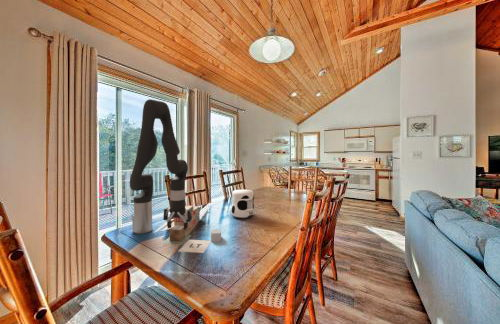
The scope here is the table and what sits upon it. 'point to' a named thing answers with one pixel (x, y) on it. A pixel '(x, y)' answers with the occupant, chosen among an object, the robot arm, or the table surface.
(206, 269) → the table surface
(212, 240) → the grey block
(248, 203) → the milk container
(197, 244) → the tile
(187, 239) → the grey-green mat
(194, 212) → the stack of blocks
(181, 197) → the robot arm
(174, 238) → the walnut block
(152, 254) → the table surface
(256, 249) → the table surface
